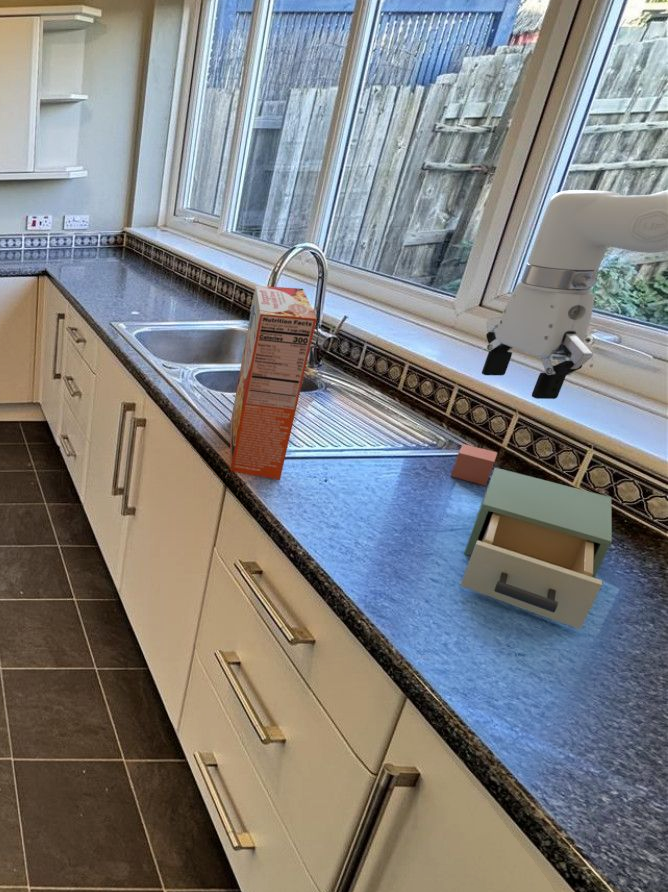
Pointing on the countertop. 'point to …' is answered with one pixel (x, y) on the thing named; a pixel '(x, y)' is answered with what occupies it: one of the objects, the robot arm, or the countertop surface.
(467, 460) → the block
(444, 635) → the countertop surface
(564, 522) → the cabinet
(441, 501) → the countertop surface
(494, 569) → the drawer
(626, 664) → the countertop surface
